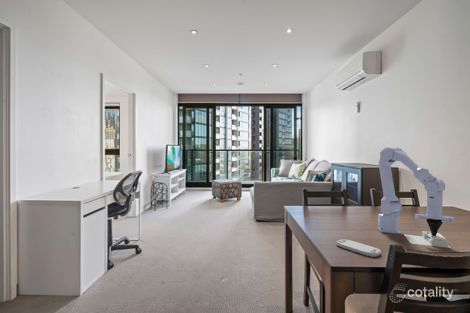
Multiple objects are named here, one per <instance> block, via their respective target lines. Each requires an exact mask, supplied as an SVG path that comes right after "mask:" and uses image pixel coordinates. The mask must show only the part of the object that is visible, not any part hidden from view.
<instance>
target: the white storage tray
mask: <svg viewBox="0 0 470 313" xmlns="http://www.w3.org/2000/svg"><path fill="white" fill-rule="evenodd" d="M425 232H429V233H431V231H427V230H422V231H421V235H413V234H412V235H411V234H403V235H404V236H405V238H406V239H407V241H408V242H409V243H410V244H413V245H421V246H428V247H429V246H431V247H439V248H449V249H451V246H449V240H448V239H447V240H433V239H431V238H430V237H429V236H428V235H427V234H426V233H425Z"/></svg>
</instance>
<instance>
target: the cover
mask: <svg viewBox="0 0 470 313" xmlns="http://www.w3.org/2000/svg"><path fill="white" fill-rule="evenodd" d="M429 232H430V231H428V232H425V233H426V234H427V235H428V236H429V237H430V238H431V239H437V240H447V241H448V239H447V238H446V237H444V236H443V235H442V234H441V233H439V232H437V234H436V236H432V235H431V233H429Z"/></svg>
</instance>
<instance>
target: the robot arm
mask: <svg viewBox="0 0 470 313" xmlns="http://www.w3.org/2000/svg"><path fill="white" fill-rule="evenodd" d="M395 162H400V163H402V164H403V165H404V166H406V167H407V168H408V169H409V170H410V171H411V172H412V173H413V176H414V178H415V179H417V181H419V182H420V183H421V184H422V185H423V186H424V187H423V188H424V189H425V191H426V213H425V214H424V213H415V215H414V218H415V219H416V220H426V223H427V225H428V227H429V229H430V230H429V232H431V235H432V236H436V234H437V233H438V232H439V229H440V227H441V226H442V225H443V222H451V223H454V222H455V217H454V216H448V215H443V197H444V195H443V194H444V191H445V189H446V184H445V182H444V181H443V180H441V179H438V177H436V176H434V175H433V174H432V173H431V172H429V171H430V170H429V169H428V168H425V167H420V166H419V165H418V164H417V163H416V162H415V161H414V160H413V159H411V157H409V155H408V154H407V152H405V151H404V150H403V149H402V148H401V147H389V146H388V147H384V148H383V149H382V150H381V151H380V152H379V161H378V169H379V175H380V181H381V187H382V192H383V196H382V198H381V199H380V207H379V210H380V211H381V213H378V216H377V217H378V219H377V229H378V230H379V232H380V233H390V234H401V231H400V229H399V225H400V224H399V223H400V213H401V212H402V210H403V206H402V204H401V203H400V199H399V198H398V197H397V196H396V192H395V184H394V178H393V172H392V167H391V166H393V164H394V163H395Z"/></svg>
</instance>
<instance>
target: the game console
mask: <svg viewBox="0 0 470 313" xmlns="http://www.w3.org/2000/svg"><path fill="white" fill-rule="evenodd" d="M336 245H337V246H338V247H340V248H342V249H345V250H348V251H351V252H353V253H357V254H361V255H363V256H366V257H370V258H371V257H373V258H375V257H376V258H377V257H379V256H381V253H382V250H381V249H380V248H378V247H374V246H371V245H367V244H365V243H362V242H358V241H354V240H351V239H343V238H342V239H338V240H336Z"/></svg>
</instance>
